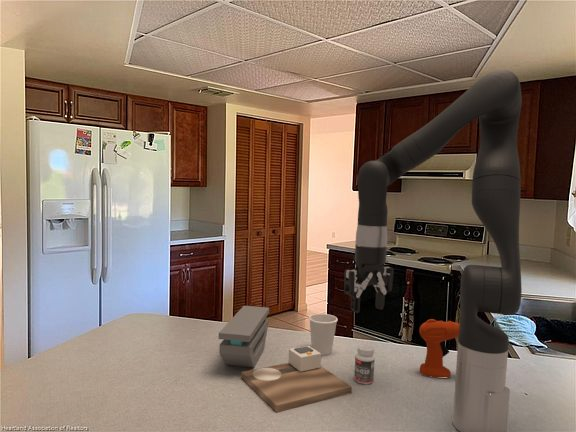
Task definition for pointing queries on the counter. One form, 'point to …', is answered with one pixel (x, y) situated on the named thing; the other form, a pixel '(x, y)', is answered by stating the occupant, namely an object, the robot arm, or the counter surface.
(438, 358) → the toy drill
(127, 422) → the counter surface
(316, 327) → the dixie cup
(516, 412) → the counter surface
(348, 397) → the counter surface
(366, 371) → the pill bottle
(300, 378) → the wooden board
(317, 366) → the white small box
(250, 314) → the gray lidded box
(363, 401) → the counter surface
